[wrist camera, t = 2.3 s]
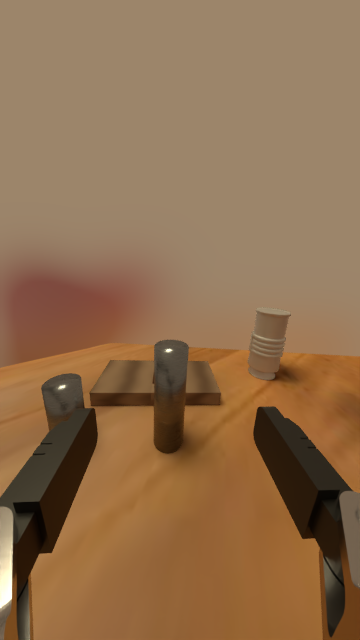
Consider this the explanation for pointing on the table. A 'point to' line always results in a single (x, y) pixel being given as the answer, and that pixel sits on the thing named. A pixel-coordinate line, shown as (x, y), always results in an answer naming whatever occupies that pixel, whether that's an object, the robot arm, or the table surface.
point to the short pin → (62, 397)
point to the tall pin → (169, 394)
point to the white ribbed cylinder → (267, 342)
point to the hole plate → (150, 384)
